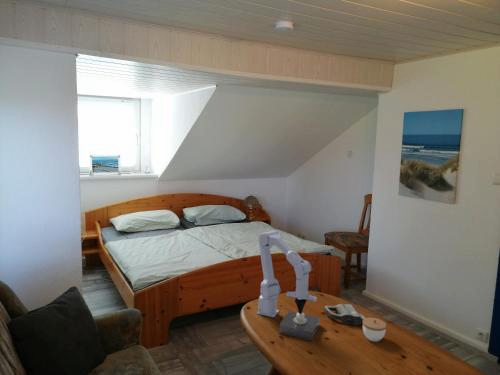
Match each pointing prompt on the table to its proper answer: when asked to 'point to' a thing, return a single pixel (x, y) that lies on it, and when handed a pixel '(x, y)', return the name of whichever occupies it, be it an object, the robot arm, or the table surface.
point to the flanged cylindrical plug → (300, 319)
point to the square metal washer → (299, 326)
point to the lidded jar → (374, 329)
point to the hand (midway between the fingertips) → (300, 312)
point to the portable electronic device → (345, 314)
